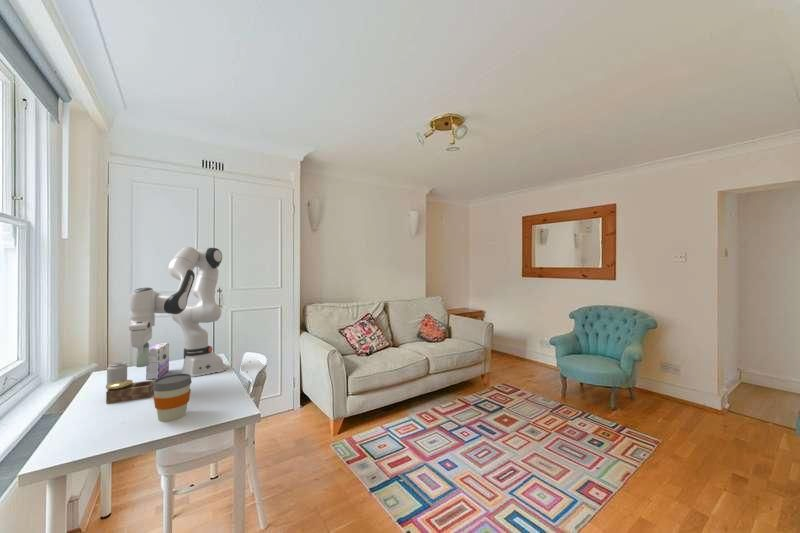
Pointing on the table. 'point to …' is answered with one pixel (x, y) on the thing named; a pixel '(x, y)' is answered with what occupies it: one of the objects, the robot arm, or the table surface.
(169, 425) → the table surface
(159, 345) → the candy box
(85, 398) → the table surface
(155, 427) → the table surface
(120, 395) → the housing
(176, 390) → the reusable coffee cup
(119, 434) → the table surface
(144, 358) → the cartridge
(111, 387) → the gold rounded dome
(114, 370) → the can
